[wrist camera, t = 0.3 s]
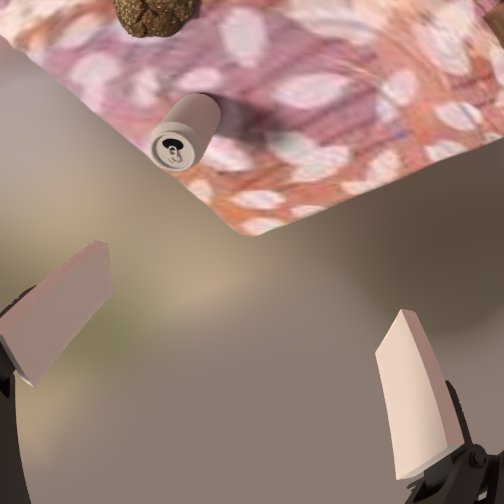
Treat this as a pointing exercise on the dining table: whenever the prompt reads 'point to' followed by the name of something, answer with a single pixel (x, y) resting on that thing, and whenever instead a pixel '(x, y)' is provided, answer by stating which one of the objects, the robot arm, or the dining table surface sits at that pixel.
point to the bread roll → (153, 16)
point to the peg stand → (497, 21)
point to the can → (185, 132)
